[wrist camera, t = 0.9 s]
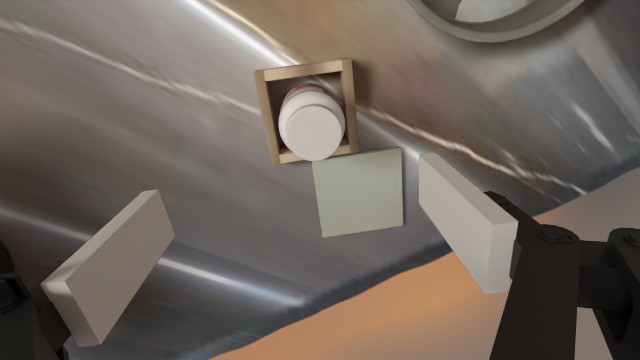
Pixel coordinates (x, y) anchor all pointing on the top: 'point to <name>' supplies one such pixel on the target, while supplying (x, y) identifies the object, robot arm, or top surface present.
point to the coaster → (359, 191)
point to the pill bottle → (311, 122)
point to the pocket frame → (340, 65)
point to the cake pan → (546, 8)
